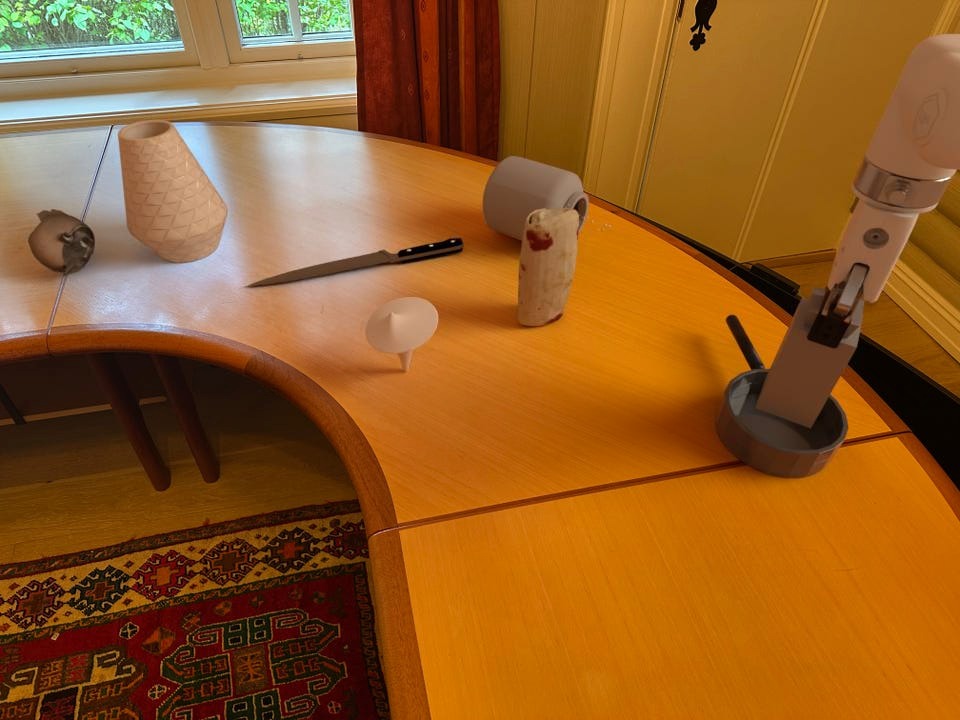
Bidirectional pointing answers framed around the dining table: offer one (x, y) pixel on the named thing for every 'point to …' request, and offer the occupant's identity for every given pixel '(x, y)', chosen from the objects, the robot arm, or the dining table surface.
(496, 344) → the dining table surface
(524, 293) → the food model
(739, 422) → the pan
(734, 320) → the pan handle
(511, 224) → the jar
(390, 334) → the white spinning top
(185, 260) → the vase
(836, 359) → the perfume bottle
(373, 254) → the steak knife
